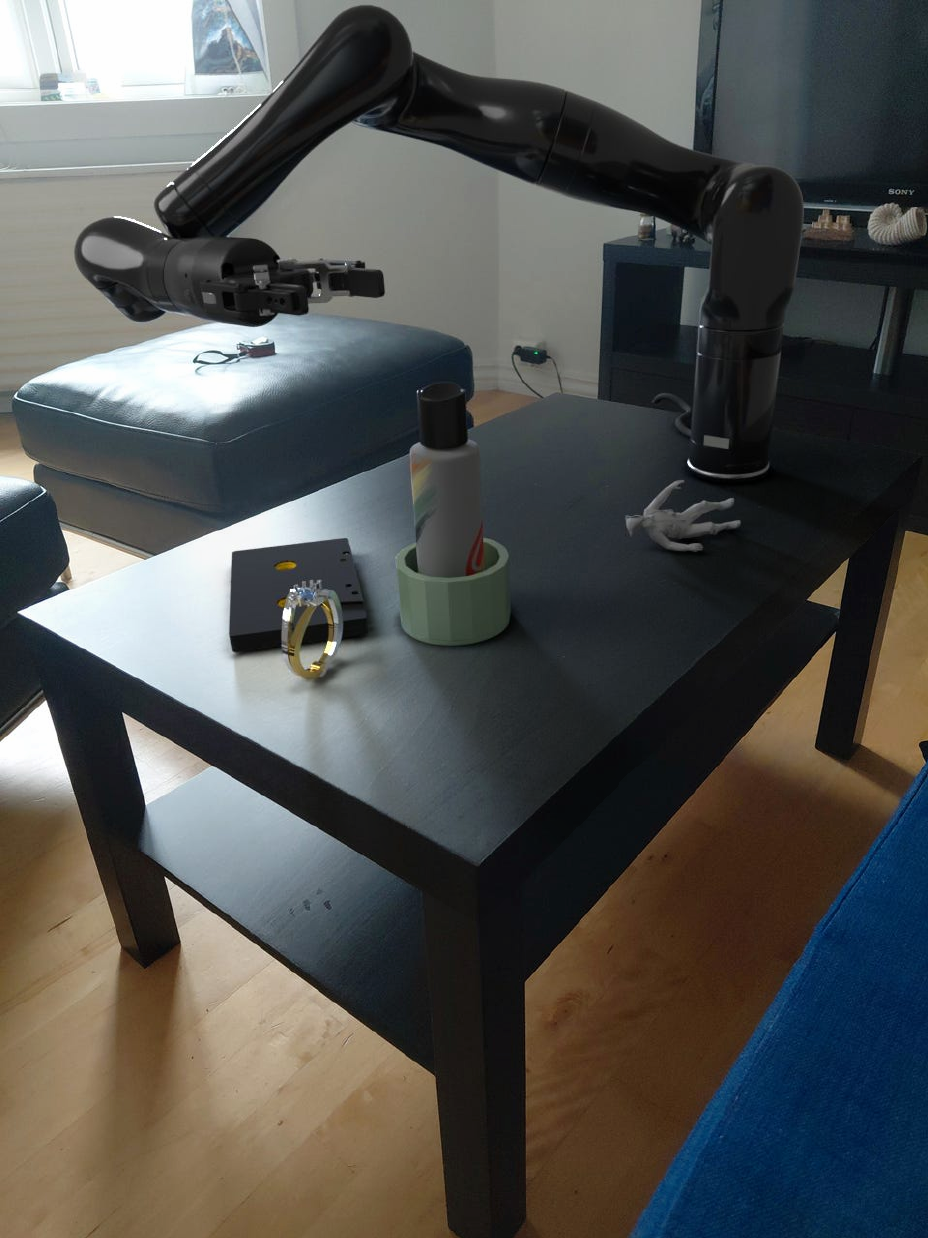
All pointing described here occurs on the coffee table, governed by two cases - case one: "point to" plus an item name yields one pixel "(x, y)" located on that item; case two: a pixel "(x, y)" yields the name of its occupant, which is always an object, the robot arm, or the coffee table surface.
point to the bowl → (455, 599)
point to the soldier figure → (678, 521)
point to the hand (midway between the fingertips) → (344, 292)
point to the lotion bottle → (446, 486)
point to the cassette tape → (273, 575)
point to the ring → (293, 642)
